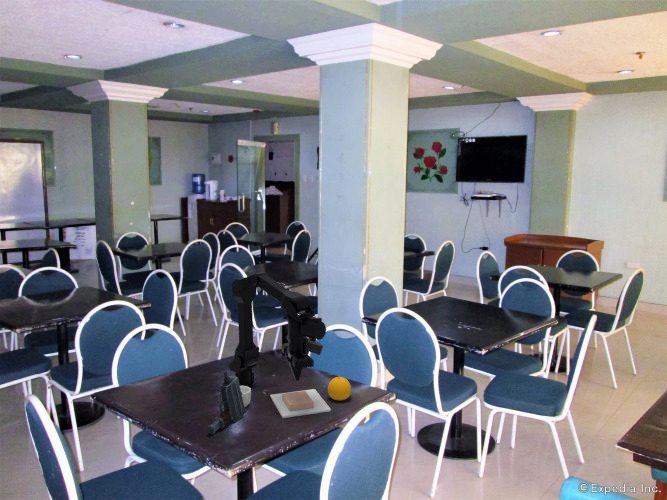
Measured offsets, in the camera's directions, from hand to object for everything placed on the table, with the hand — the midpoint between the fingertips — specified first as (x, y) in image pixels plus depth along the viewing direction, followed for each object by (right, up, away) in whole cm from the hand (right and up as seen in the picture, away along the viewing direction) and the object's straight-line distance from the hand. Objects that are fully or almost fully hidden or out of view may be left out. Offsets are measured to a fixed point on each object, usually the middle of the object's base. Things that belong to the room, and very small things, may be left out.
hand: (297, 380), depth 178 cm
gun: (-20, -11, -13) cm, 27 cm away
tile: (-2, -6, +5) cm, 8 cm away
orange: (+14, -8, +6) cm, 17 cm away
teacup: (-20, -9, -1) cm, 21 cm away
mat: (+1, -8, +2) cm, 9 cm away
